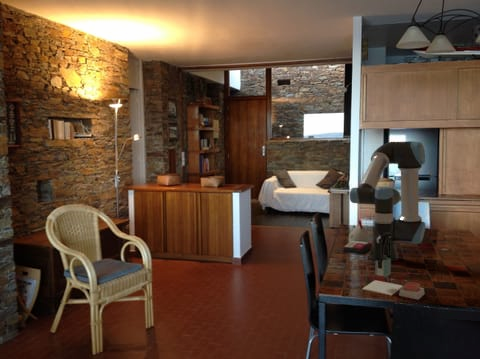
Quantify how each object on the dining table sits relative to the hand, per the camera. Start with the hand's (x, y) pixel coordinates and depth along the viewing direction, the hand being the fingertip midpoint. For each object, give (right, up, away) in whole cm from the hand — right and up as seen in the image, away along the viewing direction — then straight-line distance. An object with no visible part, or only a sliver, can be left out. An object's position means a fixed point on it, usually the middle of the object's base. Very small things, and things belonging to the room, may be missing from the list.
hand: (382, 273), depth 196 cm
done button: (+10, -5, -9) cm, 14 cm away
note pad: (0, -7, +1) cm, 7 cm away
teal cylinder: (0, 0, 0) cm, 0 cm away
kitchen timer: (+12, +1, +81) cm, 82 cm away
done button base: (+10, -7, -8) cm, 15 cm away
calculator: (+6, -1, +68) cm, 68 cm away
